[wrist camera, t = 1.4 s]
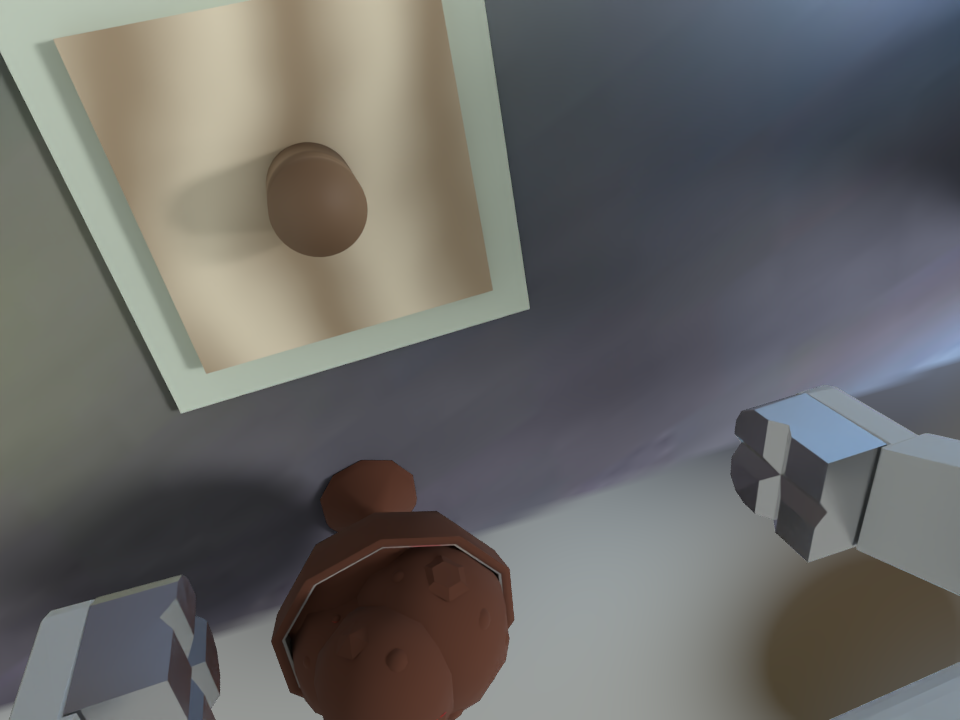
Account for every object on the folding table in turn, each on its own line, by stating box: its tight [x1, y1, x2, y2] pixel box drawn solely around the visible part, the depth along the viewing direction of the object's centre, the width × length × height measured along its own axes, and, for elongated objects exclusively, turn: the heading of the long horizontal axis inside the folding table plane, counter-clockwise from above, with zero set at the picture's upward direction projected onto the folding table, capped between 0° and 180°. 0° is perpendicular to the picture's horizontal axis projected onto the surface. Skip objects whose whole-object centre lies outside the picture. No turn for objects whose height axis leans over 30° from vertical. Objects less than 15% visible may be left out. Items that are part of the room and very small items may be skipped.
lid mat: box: [0, 0, 530, 413], centre depth 28 cm, size 18×18×1 cm
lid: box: [53, 0, 493, 374], centre depth 26 cm, size 14×14×5 cm
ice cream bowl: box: [271, 460, 514, 720], centre depth 31 cm, size 11×11×15 cm
